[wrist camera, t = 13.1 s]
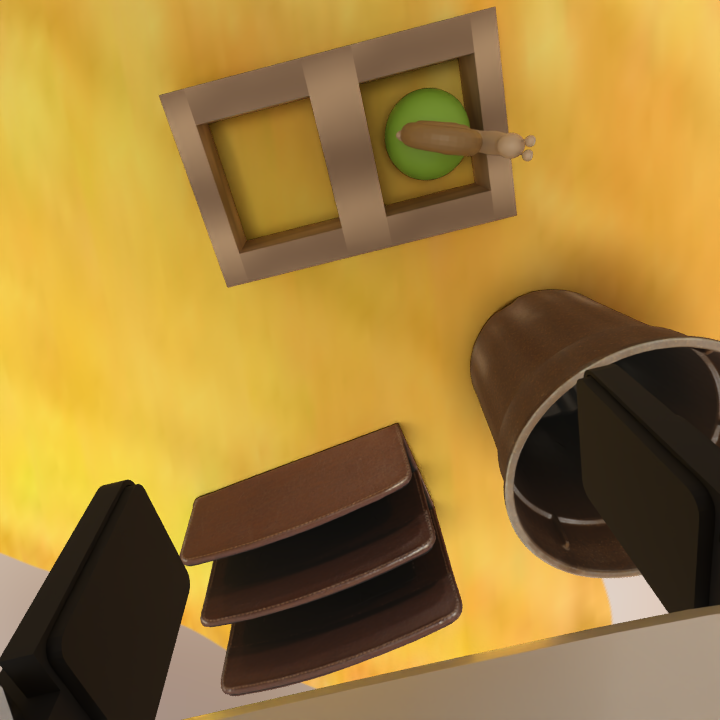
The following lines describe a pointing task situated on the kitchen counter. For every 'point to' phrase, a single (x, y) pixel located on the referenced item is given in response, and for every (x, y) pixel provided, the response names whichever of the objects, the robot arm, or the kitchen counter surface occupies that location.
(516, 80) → the kitchen counter surface
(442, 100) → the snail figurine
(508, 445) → the plant pot
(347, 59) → the brown wooden flat frame
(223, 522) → the letter holder
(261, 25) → the kitchen counter surface
